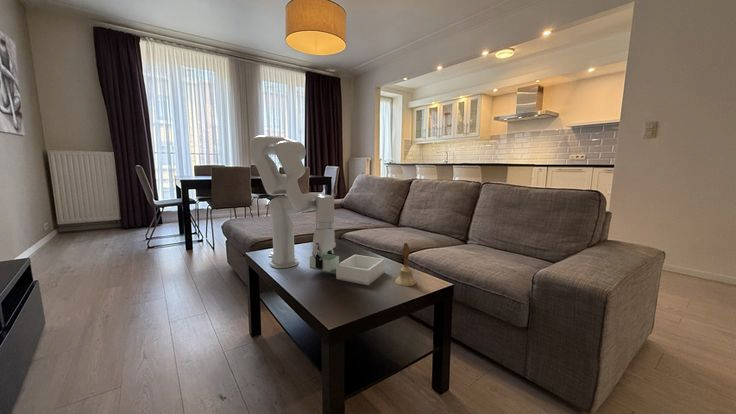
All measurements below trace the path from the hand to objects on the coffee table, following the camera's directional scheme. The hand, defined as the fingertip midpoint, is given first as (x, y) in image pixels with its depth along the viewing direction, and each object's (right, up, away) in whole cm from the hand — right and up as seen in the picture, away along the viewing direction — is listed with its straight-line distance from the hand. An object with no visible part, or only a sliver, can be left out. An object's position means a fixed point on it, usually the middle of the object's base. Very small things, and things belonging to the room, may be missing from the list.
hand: (324, 265), depth 128 cm
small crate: (0, -1, 0) cm, 1 cm away
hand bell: (+33, -5, -8) cm, 35 cm away
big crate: (+16, -4, -2) cm, 16 cm away
